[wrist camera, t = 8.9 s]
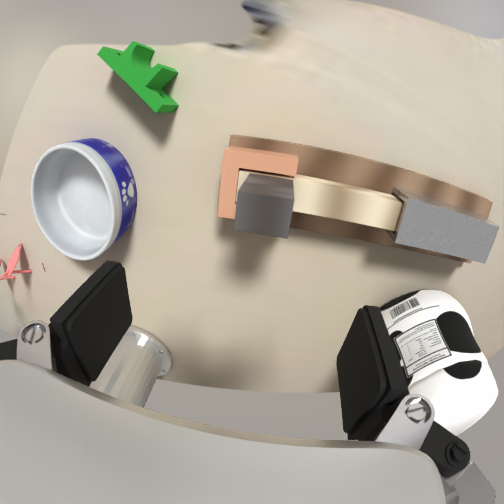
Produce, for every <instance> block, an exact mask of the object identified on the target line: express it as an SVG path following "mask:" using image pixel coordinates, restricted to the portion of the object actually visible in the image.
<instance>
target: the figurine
mask: <svg viewBox="0 0 504 504" xmlns="http://www.w3.org/2000/svg"><path fill="white" fill-rule="evenodd" d="M21 246H22V244H21V243H20V245H19V246H18V247H17V248H16V250H15V251H14V252H13V254H12V256H11V258H10V260H9V263H8V266H7V270H6V273H4V274H3V275H2V276H1V277H0V280H1V279H15V276H11V274H13V273H30V272H31V270H15V271H14V269H15V267H16V265H17V262H18V259H19V256H20V252H21V250H20V247H21ZM1 262H2V259H1V260H0V266H1ZM42 265H43V263H42ZM43 268H44V266H43ZM44 270H45V269H44ZM5 275H6V277H4V276H5Z"/></svg>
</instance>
